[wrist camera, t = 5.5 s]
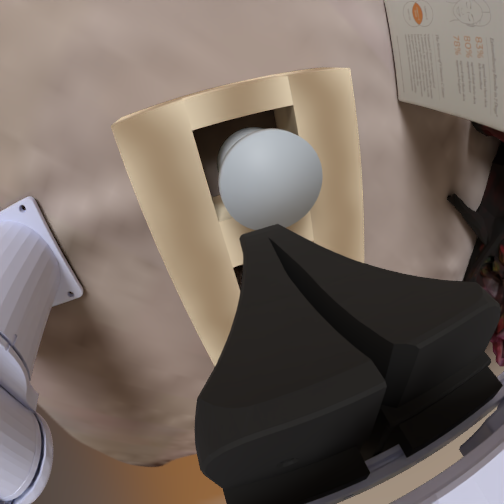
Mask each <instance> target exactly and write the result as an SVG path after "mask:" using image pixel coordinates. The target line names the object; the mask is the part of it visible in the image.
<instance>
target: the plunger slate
mask: <svg viewBox="0 0 504 504" xmlns="http://www.w3.org/2000/svg"><path fill="white" fill-rule="evenodd" d="M217 168H218V172H219V175H218V188H219V193H220V196H221V199H222V201H223V203H224V205H225V207H226V209H227V211H228V212H229V214H230V215H231V216H232V217H233V218H234V219H235V220H236V221H237V222H239V223H240V224H241V225H243V226H245V227H247V228H250V229H253V230H258V229H262V228H265V227H268V226H272V225H275V224H279V225H281V226H283V227H285V228H286V227H289V226H291V225H293V224H294V223H296V222H297V221H299V220H300V219H301V218H303V217H304V216H305V215H306V214H307V213H308V212H309V211H310V209H311V208H312V207H313V205H314V204H315V202H316V200H317V198H318V196H319V193H320V190H321V186H322V178H323V175H322V166H321V162H320V159H319V157H318V155H317V153H316V152H315V150H314V149H313V147H312V146H311V145H310V144H309V143H308V142H307V141H305V140H304V139H303V138H301V137H299V136H298V135H296V134H293V133H291V132H289V131H286V130H282V129H275V128H269V129H263V128H259V127H249V128H244V129H241V130H239V131H237V132H235V133H233V134H232V135H231V136H229V137H228V138H227V139H226V140H225V142H224V143H223V145H222V146H221V148H220V151H219V153H218V158H217Z"/></svg>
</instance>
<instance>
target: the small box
mask: <svg viewBox="0 0 504 504" xmlns="http://www.w3.org/2000/svg"><path fill="white" fill-rule="evenodd" d="M384 3H385V7H386V12H387V17H388V23H389V28H390V34H391V41H392V47H393V54H394V61H395V69H396V78H397V88H398V99H399V101H402V102H406V103H410V104H414V105H418V106H422V107H426V108H429V109H433V110H436V111H440V112H443V113H447V114H450V115H454V116H457V117H460V118H464V119H467V120H470V121H473V122H476V123H479V124H482V125H485V126H488V127H491V128H494V129H496V130H499V131H502V132H504V0H384Z"/></svg>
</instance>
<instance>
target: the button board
mask: <svg viewBox="0 0 504 504" xmlns="http://www.w3.org/2000/svg"><path fill="white" fill-rule="evenodd" d="M272 109H273V111H274V116H275V121H276V126H277V129H282V130H286V131H289V132H291V133H293V134H296V135H298V136H299V137H301V138H303V139H304V140H305V141H307V142H308V143H309V144H310V145H311V146H312V147H313V149H314V150H315V152H316V153H317V155H318V157H319V159H320V162H321V166H322V175H323V178H322V186H321V190H320V193H319V196H318V198H317V200H316V202H315V204H314V205H313V207H312V208H311V209H310V211H309V212H308V213H307V214H306V215H305V216H304V217H303V218H301V219H300V220H299V221H297V222H296V223H294V224H293V225H291V226H289V227H286V228H287V229H289V230H291V231H293V232H294V233H296V234H298V235H300V236H302V237H304V238H306V239H308V240H310V241H312V242H314V243H316V244H318V245H320V246H322V247H324V248H326V249H329V250H331V251H333V252H336V253H338V254H340V255H343V256H345V257H348V258H350V259H353V260H356V261H359V262H362V263H364V212H363V189H362V172H361V158H360V146H359V135H358V125H357V116H356V108H355V100H354V93H353V85H352V79H351V72H350V68H313V69H306V70H299V71H292V72H286V73H280V74H274V75H269V76H264V77H259V78H254V79H249V80H244V81H240V82H236V83H231V84H227V85H223V86H219V87H215V88H211V89H207V90H204V91H200V92H196V93H193V94H189V95H186V96H183V97H179V98H176V99H173V100H170V101H167V102H164V103H160V104H157V105H155V106H152V107H149V108H146V109H143V110H140V111H137V112H135V113H132V114H129V115H127V116H124V117H121V118H120V119H119V120H118V121H116V122H115V123H114V124H113V125H112V126H111V128H112V131H113V134H114V137H115V140H116V143H117V146H118V149H119V151H120V154H121V157H122V160H123V162H124V165H125V168H126V171H127V173H128V176H129V179H130V181H131V184H132V187H133V189H134V192H135V194H136V197H137V199H138V202H139V204H140V207H141V209H142V212H143V214H144V217H145V219H146V222H147V224H148V227H149V229H150V231H151V234H152V236H153V238H154V241H155V243H156V245H157V248H158V250H159V252H160V255H161V257H162V259H163V261H164V264H165V266H166V268H167V270H168V272H169V275H170V277H171V279H172V281H173V283H174V286H175V288H176V290H177V292H178V294H179V296H180V298H181V300H182V303H183V305H184V307H185V309H186V311H187V313H188V315H189V317H190V319H191V321H192V323H193V325H194V327H195V329H196V331H197V333H198V335H199V337H200V339H201V341H202V343H203V345H204V347H205V349H206V351H207V352H208V354H209V356H210V358H211V360H212V362H213V364H214V366H216V364H217V362H218V359H219V357H220V355H221V352H222V350H223V348H224V345H225V343H226V341H227V338H228V336H229V333H230V330H231V327H232V324H233V320H234V317H235V314H236V310H237V306H238V301H239V297H240V289H239V285H238V282H237V279H236V276H235V273H234V270H233V267H236V266H239V265H242V264H243V252H242V248H241V244H240V240H239V238H240V236H241V235H242V234H245V233H248V232H251V231H255V230H253V229H250V228H247V227H245V226H243V225H241V224H240V223H239V222H237V221H236V220H235V219H234V218H233V217H232V216H231V215H230V214H229V212H228V211H227V209H226V207H225V205H224V203H223V201H222V199H221V196H220V195H218V196H215V197H211V194H210V191H209V187H208V184H207V180H206V177H205V174H204V170H203V167H202V163H201V160H200V156H199V153H198V149H197V146H196V143H195V139H194V136H193V132H192V130H195V129H199V128H202V127H206V126H209V125H212V124H216V123H220V122H223V121H227V120H231V119H235V118H238V117H242V116H246V115H250V114H255V113H259V112H263V111H267V110H272Z"/></svg>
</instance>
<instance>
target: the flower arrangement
mask: <svg viewBox="0 0 504 504" xmlns="http://www.w3.org/2000/svg"><path fill="white" fill-rule="evenodd" d="M472 125H473V126H474V128H475V129H476V130H477V131H479V132H480V133H482V134H484V135H485V136H495V137H496V138H498V139H500V142H501V143H500V146H499V149H498V152H497V154H496V156H495V158H494V160H493V162H492V166H491V170H490V174H489V178H488V182H487V186H486V189H485V192H484V195H483V198H482V201H481V204H480V206H479V207H478V209H477V211H476V212H475V211H473V210H471V209H470V208H468V207H467V206H466V205H465V204H464V202H463V201H462V200H461V199H460V198H459V197H458V196H457V195H455V194H453V195H452V196H448V198H447V200H448V201H449V202H450V203H451V204H453V205H454V206H455V208H456V209H457V210H458V211H459V212H460V213H461V215H462V216H463V218H464V219H465V220H466V221H467V223H468V224H469V225H470V227H471V228H472V229H473V231H474V232H475V233H476V235H477V240H476V243H475V246H474V249H473V252H472V255H471V258H470V261H469V264H468V267H467V270H466V273H465V277H464V280H463V282H477V283H478V284H479V285H480V286H481V287H482V288H483V289H484V290H486V291H487V292H488V293H489V294H490V295H491V296H492V297H493V298H494V299H495V300H496V301H497V302H498V303H499V304H500V308H501V314H500V319H499V322H498V325H497V327H496V330H495V332H494V334H493V336H492V338H491V340H490V341H491V342H492V343H493V352H494V354H495V355H496V362H497V363H498V364H499V365H500V366H504V132H502V131H499V130H496V129H494V128H491V127H488V126H485V125H482V124H479V123H476V122H473V121H472Z"/></svg>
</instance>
